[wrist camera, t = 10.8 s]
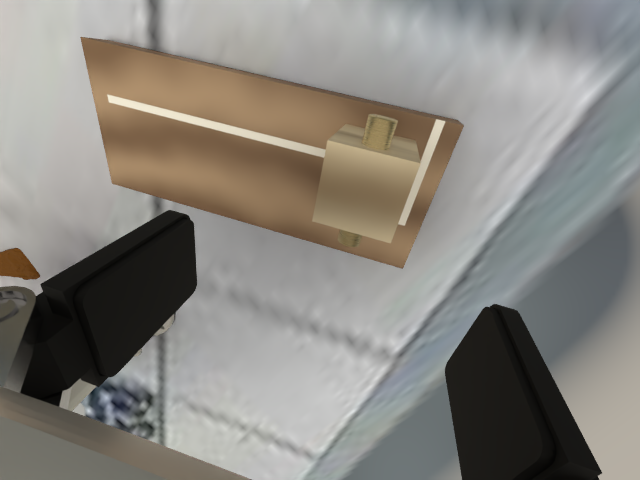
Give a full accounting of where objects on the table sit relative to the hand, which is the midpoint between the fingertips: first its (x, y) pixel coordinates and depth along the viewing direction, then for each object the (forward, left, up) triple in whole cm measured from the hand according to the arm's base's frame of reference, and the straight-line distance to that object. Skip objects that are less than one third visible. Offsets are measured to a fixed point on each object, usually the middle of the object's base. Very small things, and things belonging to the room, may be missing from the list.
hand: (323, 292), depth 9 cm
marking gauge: (0, 0, -15) cm, 15 cm away
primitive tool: (-30, +53, -18) cm, 64 cm away
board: (-2, +9, -17) cm, 20 cm away
